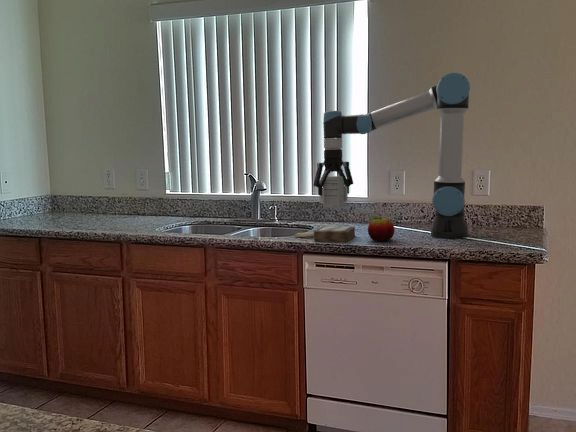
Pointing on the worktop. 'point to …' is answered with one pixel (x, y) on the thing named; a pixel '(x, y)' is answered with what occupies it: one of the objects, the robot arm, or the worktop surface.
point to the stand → (334, 234)
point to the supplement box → (334, 192)
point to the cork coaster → (305, 234)
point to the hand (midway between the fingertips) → (333, 202)
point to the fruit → (380, 229)
